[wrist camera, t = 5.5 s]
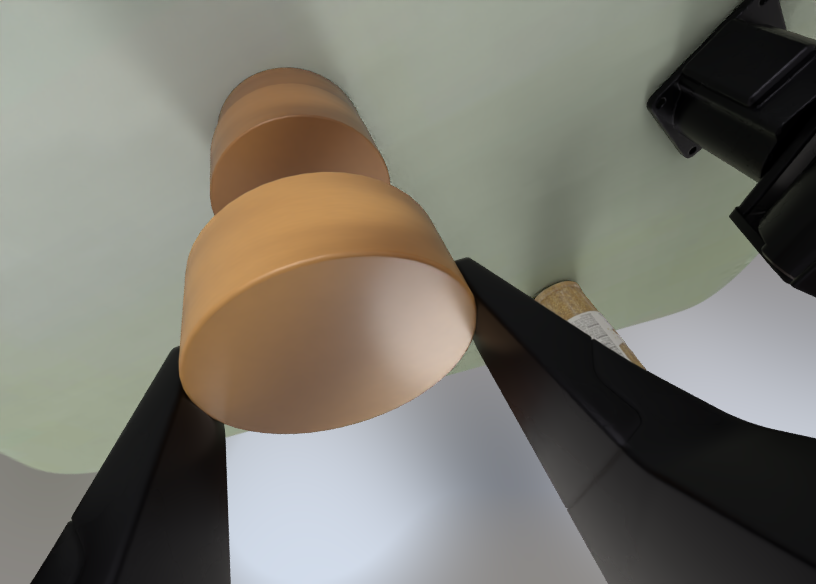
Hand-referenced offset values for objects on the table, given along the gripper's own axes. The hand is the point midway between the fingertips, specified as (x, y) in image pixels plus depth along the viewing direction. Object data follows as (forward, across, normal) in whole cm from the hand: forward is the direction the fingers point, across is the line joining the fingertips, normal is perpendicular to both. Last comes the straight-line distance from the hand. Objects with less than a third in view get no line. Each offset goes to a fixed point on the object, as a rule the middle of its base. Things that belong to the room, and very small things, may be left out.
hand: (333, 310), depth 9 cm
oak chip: (+1, 0, 0) cm, 1 cm away
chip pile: (+11, 0, +1) cm, 11 cm away
